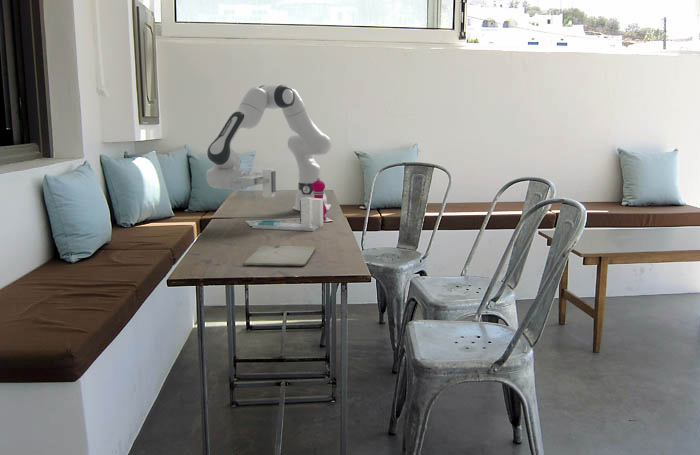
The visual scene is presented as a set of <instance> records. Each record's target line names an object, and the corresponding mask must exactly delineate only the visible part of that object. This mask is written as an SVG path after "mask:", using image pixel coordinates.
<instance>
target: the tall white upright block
mask: <svg viewBox="0 0 700 455" xmlns="http://www.w3.org/2000/svg"><path fill="white" fill-rule="evenodd" d="M261 173H262V179H268V180H269V182H268V183H262V197H263V198H273V197H275V196H276V191H277V190H276V189H277V188H276V187H277V185H276V182H277V178H276V171H275V168H269V167H268V168H266V167H265V168H262V170H261Z"/></svg>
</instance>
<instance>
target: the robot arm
mask: <svg viewBox="0 0 700 455" xmlns="http://www.w3.org/2000/svg"><path fill="white" fill-rule="evenodd" d="M265 109H270V110H271V109H272V110H274V109H281V111H282V113H283V115H284V118H285V120H286V122H287V124H288V126H289V128H290V130H291V131H293V132H295V133H293V134H292V135H290V136H289V138H288V140H287V147H288V149H289V151H290V152H291V153H292V154H293V156H294V158H295V160H296V163H297V167H298V181H299V182H298V184H297V186H298V187H297V189H298V191H297V192H296V194H295V206H293V207H292V209H293V210H296V211H299V212H300V200H301V198H303V197H313V199H314V198H315V197H314V194H313V193H314V192H313V191H314V190H313V188H312V184H313V183H314V182H315V181H317V178H318V177H319V178H320V181H322V179H321V178H322V177H321V176H322V174H321V173H322V170H321V168H322V167H321V166H320V165H319V164H318V162H316V160H315V157H314V156H324V155H327V154H328V153H330V151H331V149H332V140H331V138H330V137H329V136H328V135H327V134H325V133H324V132H322V131H321V130H320V129H319V128H318V126H317V125H316V124H315V123H314V122H313V120H312V119H311V117H310V116H311V115H310V114H309V112H308V110H307V107H306V105H305V103H304V101H303V99H302V97H301V96H300V94H299V93H298V91H297V90H296V89H294V88H292V87H291V86H288V85H286V84H276V83H275V84H274V83H273V84H268V85H267V84H266V85H265V84H264V85H260V86H254V87H250V89H249V90H248V91H247V92H246V94H245V95H244V97H243V98H242V100H241V103H240V105H239V106H238V109H236V111H235V112H233V113H232V114H231V115H230V116H229V118H228V119H227V120H226V122H225V124H224V125H223V127H222V129H221V130H220V132H219V134H218V136H216V138H215V139H214V140H213V141H212V142H211V143H210V145H209V146H208V148H207V158H208V159H209V160H210V161H211V162H213V166H212V167H211V168H209V169H208V170H206V173H205V180H206V183H207V184H208V186H210V187H211V188H215V189H222V190H223V189H225V190H227V189H233V190H244V191H245V190H246V189H247V188H248V187H249V188H250V187H254V186H258V185H263V183H268V182H269V180H268V179H262V172H256V171H253V170H246V169H245V168H243V169H240V166H241V163H242V162H241V157H240V155H238V154H237V153H236V152H235V151H234V149H232V146H231V145H232V142H233V140H234V138H235V137H236V135H237V134H238V132H239V130H240V129H242V128H243V129H248V130H249V129H254V128H255V127H257V126H258V124H259V123H260V121H261V120H262V117H263V115H264V113H265ZM323 201H324V204H325V206H326V209H327V211H329V210H330V208H331V207H332V205H331V204H330V203H329V204H328V202H327V194H326V193H325V192H324V194H323Z"/></svg>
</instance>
